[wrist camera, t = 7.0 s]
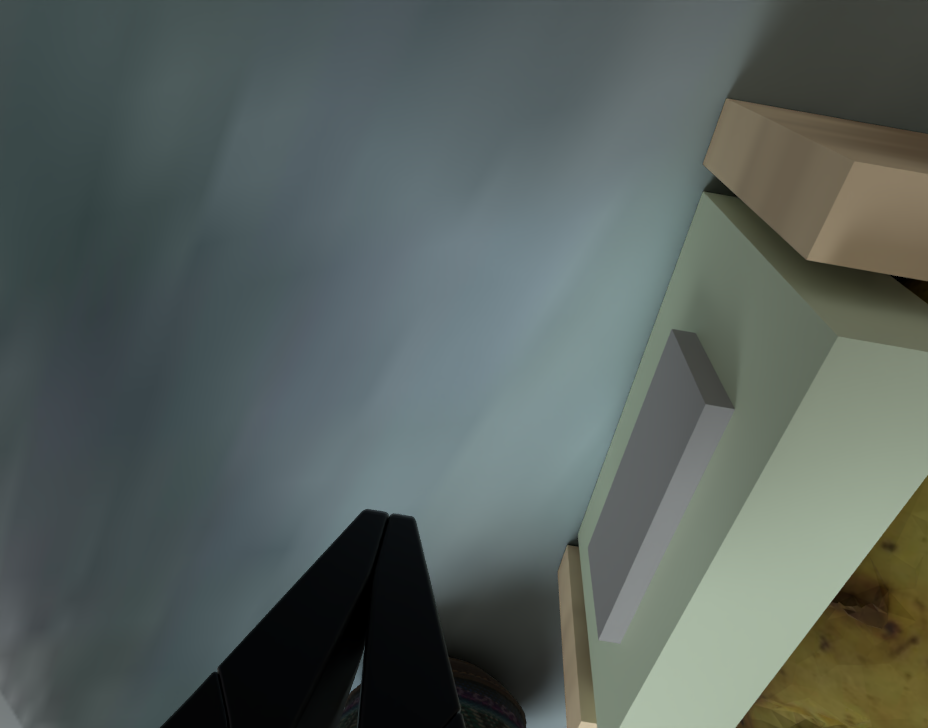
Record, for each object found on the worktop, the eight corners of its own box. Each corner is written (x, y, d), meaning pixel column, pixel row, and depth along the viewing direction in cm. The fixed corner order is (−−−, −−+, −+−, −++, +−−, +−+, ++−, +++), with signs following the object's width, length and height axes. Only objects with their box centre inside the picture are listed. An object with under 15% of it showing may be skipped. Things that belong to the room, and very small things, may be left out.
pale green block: (801, 208, 12) (1010, 366, 7) (645, 545, 17) (697, 777, 12) (680, 187, 12) (799, 329, 7) (562, 531, 17) (578, 757, 12)
